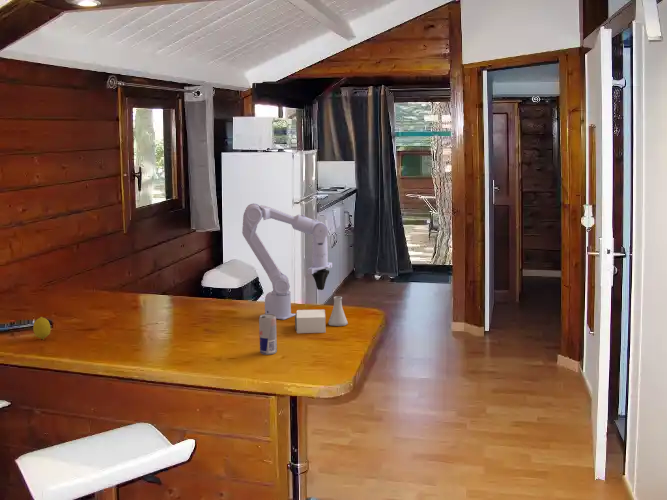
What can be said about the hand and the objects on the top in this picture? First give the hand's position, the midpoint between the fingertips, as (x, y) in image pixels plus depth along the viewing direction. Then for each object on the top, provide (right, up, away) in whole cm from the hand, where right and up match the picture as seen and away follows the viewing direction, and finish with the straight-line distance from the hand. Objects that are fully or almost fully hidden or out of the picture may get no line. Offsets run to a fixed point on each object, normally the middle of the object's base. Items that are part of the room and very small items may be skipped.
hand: (320, 289), depth 284 cm
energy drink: (-16, -18, -44) cm, 50 cm away
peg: (-5, -13, -17) cm, 22 cm away
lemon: (-95, -16, -26) cm, 100 cm away
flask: (+6, -12, -11) cm, 18 cm away
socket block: (-3, -13, -17) cm, 22 cm away
